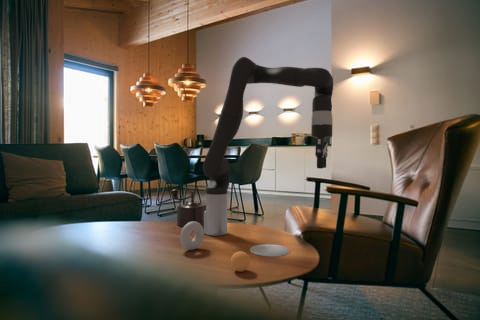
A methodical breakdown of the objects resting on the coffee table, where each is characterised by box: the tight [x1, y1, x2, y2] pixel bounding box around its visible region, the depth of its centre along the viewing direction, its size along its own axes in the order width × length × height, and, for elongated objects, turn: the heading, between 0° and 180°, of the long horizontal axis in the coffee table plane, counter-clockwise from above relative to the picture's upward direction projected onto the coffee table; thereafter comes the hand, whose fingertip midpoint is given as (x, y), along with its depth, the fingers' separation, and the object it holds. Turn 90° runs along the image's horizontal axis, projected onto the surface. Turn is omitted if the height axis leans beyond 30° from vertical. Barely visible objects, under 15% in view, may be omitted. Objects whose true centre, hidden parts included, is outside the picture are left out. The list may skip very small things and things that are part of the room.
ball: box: [230, 250, 251, 273], centre depth 88 cm, size 6×6×6 cm
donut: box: [179, 221, 205, 251], centre depth 108 cm, size 10×4×10 cm, turn 139°
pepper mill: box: [169, 188, 206, 228], centre depth 148 cm, size 16×11×18 cm
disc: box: [249, 243, 291, 257], centre depth 108 cm, size 14×14×1 cm
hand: (321, 168), depth 114 cm, fingers open, 8 cm apart
